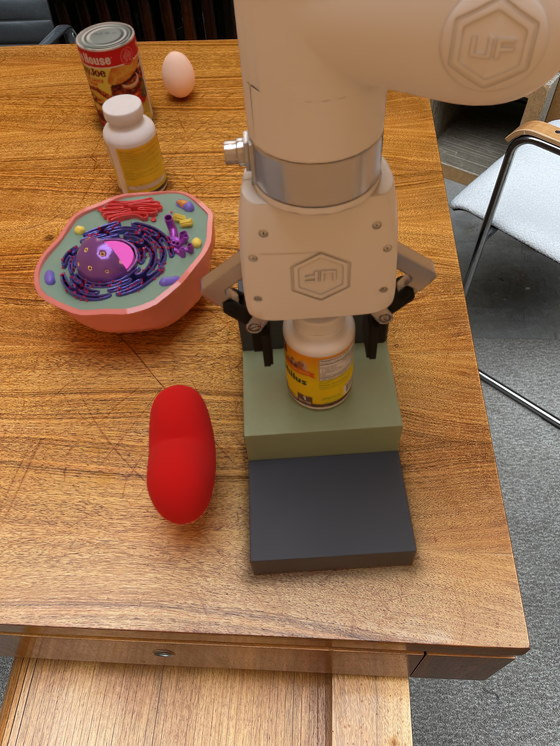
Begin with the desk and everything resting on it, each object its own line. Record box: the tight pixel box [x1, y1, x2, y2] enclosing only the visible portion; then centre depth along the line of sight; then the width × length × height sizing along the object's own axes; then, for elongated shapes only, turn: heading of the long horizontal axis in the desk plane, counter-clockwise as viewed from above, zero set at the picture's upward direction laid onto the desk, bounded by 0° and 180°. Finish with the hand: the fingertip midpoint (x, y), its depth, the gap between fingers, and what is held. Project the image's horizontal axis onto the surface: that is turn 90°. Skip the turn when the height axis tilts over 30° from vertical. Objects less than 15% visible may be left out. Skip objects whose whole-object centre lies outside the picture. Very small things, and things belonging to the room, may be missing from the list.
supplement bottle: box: [283, 315, 355, 409], centre depth 50 cm, size 6×6×10 cm
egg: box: [161, 50, 196, 99], centre depth 95 cm, size 5×5×7 cm
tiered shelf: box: [236, 249, 417, 576], centre depth 56 cm, size 13×27×11 cm, turn 3°
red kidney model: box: [146, 384, 217, 526], centre depth 53 cm, size 12×5×10 cm, turn 4°
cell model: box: [33, 190, 216, 334], centre depth 67 cm, size 17×20×11 cm
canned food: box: [75, 21, 154, 129], centre depth 90 cm, size 8×8×12 cm
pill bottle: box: [102, 94, 168, 194], centre depth 80 cm, size 6×6×12 cm
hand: (318, 348), depth 50 cm, fingers open, 7 cm apart
